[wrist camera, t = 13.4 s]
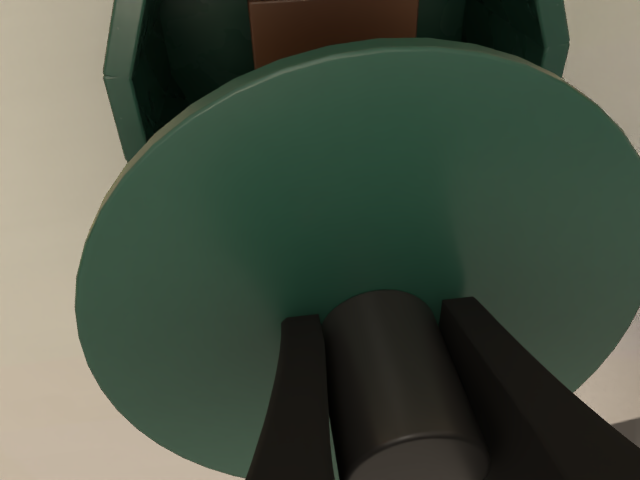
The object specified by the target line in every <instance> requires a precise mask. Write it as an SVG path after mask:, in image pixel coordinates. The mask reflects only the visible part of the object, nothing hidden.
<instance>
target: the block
mask: <svg viewBox="0 0 640 480" xmlns="http://www.w3.org/2000/svg"><path fill="white" fill-rule="evenodd" d="M247 2H248V12H249V22H250V32H251V41H252V51H253V61H254V70H256V69H258V68H260V67H263V66H265V65H267V64H270V63H272V62H274V61H277V60H279V59H282V58H286V57H289V56H293V55H297V54H300V53H304V52H307V51H311V50H314V49H318V48H321V47H325V46H328V45H335V44H342V43H349V42H356V41H363V40H370V39H377V38H416V36H417V22H418V8H419V0H247Z"/></svg>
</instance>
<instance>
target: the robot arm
mask: <svg viewBox="0 0 640 480" xmlns="http://www.w3.org/2000/svg"><path fill="white" fill-rule="evenodd" d="M439 329H440V332H441V334H442V337H443V339H444V342H445V344H446V347H447V349H448V351H449V354H450V356H451V359H452V361H453V364H454V366H455V369H456V371H457V374H458V376H459V379H460V381H461V383H462V386H463V388H464V391H465V393H466V396H467V398H468V401H469V403H470V406H471V408H472V411H473V413H474V415H475V418H476V420H477V423H478V425H479V428H480V430H481V433H482V435H483V438H484V440H485V443H486V445H487V447H488V450H489V453H490V458H491V465H490V470H489V473H488V476H487V477H486V479H485V480H640V448H639V447H637V446H636V445H635V444H634V443H632V442H631V441H630V440H628V439H627V438H626V437H624V436H623V435H622V434H621V433H620V432H618V431H617V430H616V429H615V428H613V427H612V426H611V425H610V424H609V423H607V422H606V421H605V420H604V419H603V418H601V417H600V416H599V415H598V414H597V413H595V412H594V411H593V410H592V409H591V408H590V407H588V406H587V405H586V404H585V403H584V402H583V401H581V400H580V399H579V398H578V397H577V396H576V395H575V394H573V393H572V392H571V391H570V390H569V389H568V388H567V387H566V386H565V385H563V384H562V383H561V382H560V381H559V380H558V379H557V378H556V377H555V376H554V375H553V374H552V373H551V372H549V371H548V370H547V369H546V368H545V367H544V366H543V365H542V364H541V363H540V362H539V361H538V360H537V359H536V358H535V357H534V356H532V355H531V354H530V353H529V352H528V351H527V350H526V349H525V348H524V347H523V346H522V345H521V344H520V343H519V342H518V341H517V340H516V339H515V338H514V337H513V336H512V335H511V334H510V333H509V332H508V331H507V330H506V329H505V328H504V327H503V326H502V325H501V324H500V323H499V322H498V321H497V320H496V319H495V318H494V317H493V315H492V314H491V313H490V312H489V311H488V310H487V309H486V308H485V307H484V306H483V305H482V304H481V303H480V302H479V301H478V300H477V299H476V298H474V297H473V296H472V297H463V298H454V299H446V300H442V306H441V314H440V322H439ZM245 480H335V477H334V471H333V464H332V454H331V445H330V428H329V410H328V391H327V373H326V355H325V342H324V337H323V332H322V328H321V323H320V319H319V314H314V315H305V316H296V317H287V318H286V319H284V320H283V321H282V322H281V342H280V352H279V359H278V364H277V370H276V375H275V380H274V384H273V388H272V392H271V397H270V401H269V405H268V409H267V413H266V417H265V420H264V424H263V427H262V430H261V433H260V436H259V440H258V443H257V446H256V449H255V452H254V455H253V459H252V462H251V465H250V468H249V471H248V473H247V476H246V479H245Z"/></svg>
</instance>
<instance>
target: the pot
mask: <svg viewBox="0 0 640 480" xmlns="http://www.w3.org/2000/svg"><path fill="white" fill-rule="evenodd" d="M416 38H434V39H442V40H449V41H457V42H464V43H472V44H477V45H481V46H484V47H488V48H491V49H494V50H498V51H501V52H505V53H508V54H512V55H515V56H518V57H520V58H523V59H525V60H527V61H529V62H531V63H533V64H535V65H537V66H540V67H542V68H544V69H546V70H548V71H550V72H552V73H554V74H556V75H557V76H559V77H560V78H562V75H563V70H564V66H565V62H566V58H567V54H568V49H569V40H570V38H569V32H568V26H567V19H566V13H565V7H564V1H563V0H419V8H418V22H417V36H416ZM253 70H254V61H253V51H252V41H251V32H250V22H249V12H248V2H247V0H114V3H113V9H112V16H111V22H110V28H109V35H108V41H107V48H106V54H105V61H104V67H103V74H104V76H103V79H104V83H105V87H106V90H107V94H108V98H109V101H110V105H111V109H112V112H113V116H114V120H115V123H116V127H117V131H118V134H119V138H120V142H121V145H122V149H123V153H124V156H125V159H126V161H127V163H128V162H129V161H130V160H131V159H132V158H133V157H134V156H135V155H136V154H137V152H138V151H139V150H140V149H141V148H142V147H143V146H144V145H145V144H146V143H147V142H148V141H149V139H150V138H151V137H152V136H153V135H154V134H155V133H156V132H157V131H159V130H160V129H161V128H162V127H164V126H165V125H166V124H167V123H169V122H170V121H171V120H172V119H173V118H175V117H176V116H177V115H178V114H180V113H181V112H182V111H183V110H185V109H186V108H187V107H188V106H190V105H191V104H192V103H194V102H196V101H197V100H199V99H201V98H202V97H204V96H206V95H207V94H209V93H211V92H212V91H214V90H216V89H217V88H219V87H221V86H223V85H224V84H226V83H228V82H229V81H231V80H233V79H235V78H237V77H239V76H242V75H244V74H246V73H249V72H251V71H253Z"/></svg>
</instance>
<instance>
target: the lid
mask: <svg viewBox="0 0 640 480" xmlns="http://www.w3.org/2000/svg"><path fill="white" fill-rule="evenodd" d="M472 296H473V297H474V298H476V299H477V300H478V301H479V302H480V303H481V304H482V305H483V306H484V307H485V308H486V309H487V310H488V311H489V312H490V313H491V314H492V315H493V317H494V318H495V319H496V320H497V321H498V322H499V323H500V324H501V325H502V326H503V327H504V328H505V329H506V330H507V331H508V332H509V333H510V334H511V335H512V336H513V337H514V338H515V339H516V340H517V341H518V342H519V343H520V344H521V345H522V346H523V347H524V348H525V349H526V350H527V351H528V352H529V353H530V354H531V355H532V356H534V357H535V358H536V359H537V360H538V361H539V362H540V363H541V364H542V365H543V366H544V367H545V368H546V369H547V370H548V371H549V372H551V373H552V374H553V375H554V376H555V377H556V378H557V379H558V380H559V381H560V382H561V383H562V384H563V385H565V386H566V387H567V388H568V389H569V390H570V391H571V392H572V393H573V392H575V391H576V390H577V389H578V388H579V387H580V386H581V385H582V384H583V383H584V382H585V381H586V380H587V379H588V378H589V377H590V376H591V375H592V374H593V373H594V372H595V371H596V370H597V369H598V368H599V367H600V365H601V364H602V363H603V362H604V361H605V359H606V358H607V357H608V356H609V355H610V353H611V352H612V351H613V350H614V349H615V347H616V346H617V344H618V343H619V341H620V340H621V338H622V337H623V335H624V334H625V332H626V331H627V329H628V328H629V326H630V324H631V322H632V320H633V318H634V316H635V314H636V312H637V310H638V308H639V306H640V157H639V155H638V153H637V152H636V150H635V149H634V147H633V146H632V144H631V143H630V141H629V140H628V138H627V136H626V135H625V133H624V132H623V130H622V129H621V128H620V127H619V126H618V125H617V124H616V123H615V122H614V121H613V120H612V119H611V118H610V117H609V116H608V115H607V114H606V113H605V112H604V111H603V110H602V109H601V108H600V106H599V105H598V104H596V103H595V102H594V101H592V100H591V99H590V98H588V97H587V96H586V95H584V94H583V93H582V92H580V91H579V90H577V89H576V88H574V87H573V86H572V85H570V84H569V83H567V82H566V81H564V80H563V79H562V78H560V77H559V76H557V75H556V74H554V73H552V72H550V71H548V70H546V69H544V68H542V67H540V66H537V65H535V64H533V63H531V62H529V61H527V60H525V59H523V58H520V57H518V56H515V55H512V54H508V53H505V52H501V51H498V50H494V49H491V48H488V47H484V46H481V45H477V44H472V43H464V42H457V41H449V40H442V39H434V38H377V39H370V40H363V41H356V42H349V43H342V44H335V45H328V46H325V47H321V48H318V49H314V50H311V51H307V52H304V53H300V54H297V55H293V56H289V57H286V58H282V59H279V60H277V61H274V62H272V63H270V64H267V65H265V66H263V67H260V68H258V69H256V70H253V71H251V72H249V73H246V74H244V75H242V76H239V77H237V78H235V79H233V80H231V81H229V82H228V83H226V84H224V85H223V86H221V87H219V88H217V89H216V90H214V91H212V92H211V93H209V94H207V95H206V96H204V97H202V98H201V99H199V100H197V101H196V102H194V103H192V104H191V105H190V106H188V107H187V108H186V109H185V110H183V111H182V112H181V113H180V114H178V115H177V116H176V117H175V118H173V119H172V120H171V121H170V122H169V123H167V124H166V125H165V126H164V127H162V128H161V129H160V130H159V131H157V132H156V133H155V134H154V135H153V136H152V137H151V138H150V139H149V141H148V142H147V143H146V144H145V145H144V146H143V147H142V148H141V149H140V150H139V151H138V152H137V154H136V155H135V156H134V157H133V158H132V159H131V160H130V161H129V162H128V163H127V164H126V166H125V167H124V169H123V170H122V172H121V173H120V175H119V176H118V178H117V179H116V181H115V182H114V184H113V185H112V187H111V188H110V190H109V191H108V193H107V194H106V196H105V197H104V199H103V201H102V204H101V206H100V208H99V210H98V213H97V215H96V217H95V219H94V221H93V224H92V226H91V228H90V230H89V233H88V236H87V239H86V241H85V244H84V248H83V252H82V256H81V260H80V264H79V268H78V272H77V276H76V294H75V314H76V321H77V329H78V336H79V340H80V343H81V346H82V349H83V352H84V355H85V358H86V361H87V364H88V366H89V368H90V370H91V372H92V374H93V375H94V377H95V379H96V381H97V383H98V385H99V386H100V388H101V390H102V391H103V392H104V394H105V395H106V396H107V398H108V399H109V400H110V401H111V403H112V404H113V405H114V407H115V408H116V409H117V410H118V411H119V412H120V413H121V414H122V415H123V416H124V417H125V418H126V419H127V420H128V421H129V422H130V423H131V424H132V425H133V426H135V427H136V428H137V429H138V430H139V431H141V432H142V433H143V434H145V435H146V436H148V437H149V438H150V439H152V440H153V441H155V442H156V443H157V444H159V445H161V446H162V447H164V448H166V449H168V450H170V451H171V452H173V453H175V454H177V455H179V456H181V457H182V458H185V459H187V460H190V461H192V462H194V463H197V464H199V465H202V466H204V467H206V468H209V469H213V470H216V471H219V472H223V473H226V474H229V475H232V476H237V477H241V478H246V476H247V473H248V471H249V468H250V465H251V462H252V459H253V455H254V452H255V449H256V446H257V443H258V440H259V436H260V433H261V430H262V427H263V424H264V420H265V417H266V413H267V409H268V405H269V401H270V397H271V392H272V388H273V384H274V380H275V375H276V370H277V364H278V359H279V352H280V342H281V322H282V321H283V320H284V319H286V318H287V317H296V316H305V315H314V314H319V319H320V323H321V328H322V332H323V337H324V342H325V355H326V373H327V391H328V410H329V428H330V445H331V454H332V464H333V471H334V477H335V480H485V479H486V477H487V476H488V473H489V470H490V465H491V458H490V453H489V450H488V447H487V445H486V443H485V440H484V438H483V435H482V433H481V430H480V428H479V425H478V423H477V420H476V418H475V415H474V413H473V411H472V408H471V406H470V403H469V401H468V398H467V396H466V393H465V391H464V388H463V386H462V383H461V381H460V379H459V376H458V374H457V371H456V369H455V366H454V364H453V361H452V359H451V356H450V354H449V351H448V349H447V347H446V344H445V342H444V339H443V337H442V334H441V332H440V329H439V322H440V314H441V306H442V300H446V299H454V298H463V297H472Z"/></svg>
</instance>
